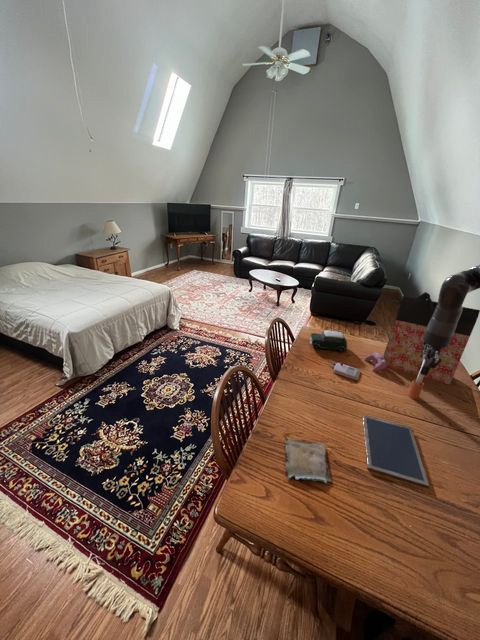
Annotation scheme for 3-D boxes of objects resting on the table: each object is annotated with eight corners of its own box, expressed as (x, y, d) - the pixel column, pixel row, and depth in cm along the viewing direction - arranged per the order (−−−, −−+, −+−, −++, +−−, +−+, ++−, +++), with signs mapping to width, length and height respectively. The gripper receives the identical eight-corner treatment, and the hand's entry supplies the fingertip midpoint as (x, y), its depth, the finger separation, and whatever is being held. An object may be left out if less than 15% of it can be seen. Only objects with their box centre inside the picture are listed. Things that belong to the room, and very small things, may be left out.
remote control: (362, 382, 110) (363, 376, 109) (324, 369, 117) (325, 363, 116) (364, 374, 115) (366, 368, 114) (328, 362, 123) (329, 357, 121)
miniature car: (308, 340, 141) (311, 326, 138) (344, 344, 139) (347, 330, 135) (309, 348, 133) (312, 334, 130) (347, 353, 131) (351, 339, 127)
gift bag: (446, 370, 121) (479, 298, 106) (450, 387, 110) (487, 309, 95) (376, 351, 134) (396, 283, 119) (372, 364, 123) (395, 292, 108)
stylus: (418, 386, 102) (429, 357, 96) (419, 389, 100) (431, 359, 95) (413, 385, 102) (424, 356, 97) (414, 388, 101) (425, 358, 95)
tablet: (410, 429, 89) (411, 427, 88) (428, 488, 71) (429, 485, 70) (362, 416, 93) (362, 414, 92) (367, 469, 75) (368, 467, 74)
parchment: (284, 478, 71) (285, 476, 71) (284, 438, 83) (284, 436, 82) (332, 486, 70) (333, 484, 69) (325, 444, 81) (325, 442, 81)
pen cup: (416, 395, 105) (422, 380, 102) (418, 401, 101) (425, 386, 98) (406, 393, 106) (412, 378, 103) (408, 398, 102) (414, 384, 99)
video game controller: (380, 375, 118) (391, 364, 115) (372, 371, 117) (383, 359, 114) (370, 363, 127) (380, 351, 124) (362, 359, 126) (372, 347, 123)
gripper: (460, 342, 84) (440, 386, 92) (445, 324, 96) (428, 364, 103) (433, 337, 86) (415, 381, 94) (422, 320, 98) (407, 360, 105)
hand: (422, 372), depth 98 cm, fingers closed on stylus, 2 cm apart
